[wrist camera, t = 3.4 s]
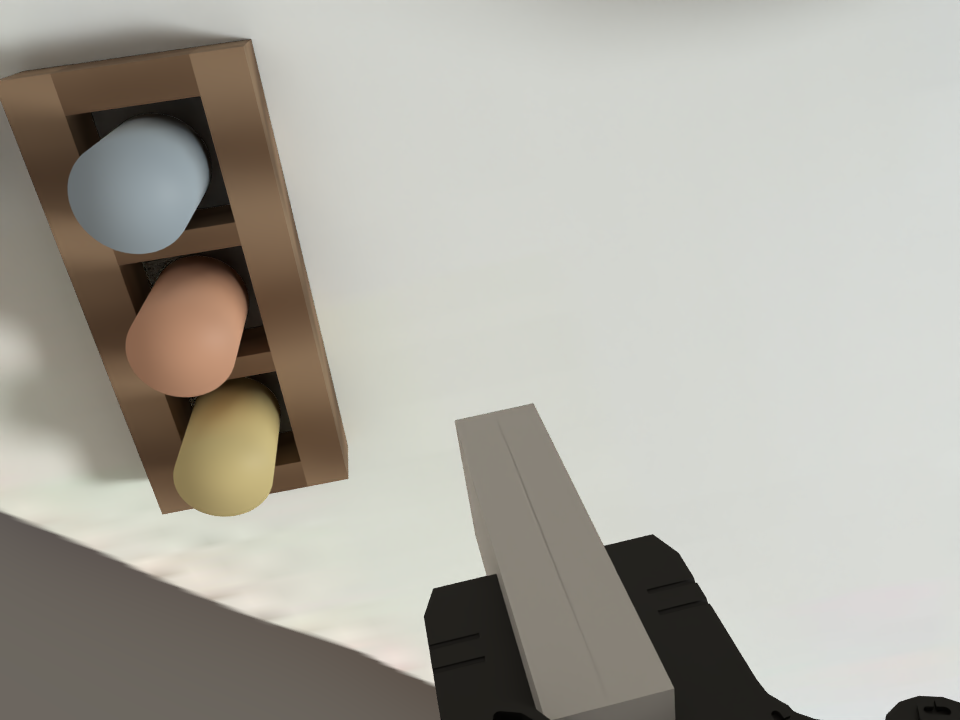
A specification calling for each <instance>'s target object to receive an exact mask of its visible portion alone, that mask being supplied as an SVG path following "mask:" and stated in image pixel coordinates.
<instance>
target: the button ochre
mask: <svg viewBox="0 0 960 720" xmlns="http://www.w3.org/2000/svg"><path fill="white" fill-rule="evenodd" d="M280 419H281V409H280V405H279V402H278V400H277V398H276V396H275V395H274V394H273V392H272V391H271V390H270V389H269V388H268V387H266V386H265V385H263V384H262V383H260V382H258V381H256V380H253V379H250V378H246V377H240V378H235V379H229V380H226V381H225V382H224V383H223V384H222V385H221V386H219V387H218V388H216V389H215V390H213V391H211V392H209V393H206V394H203V395H199V396H198V397H197V399H196V401H195V404H194V407H193V411H192V414H191V417H190V420H189V423H188V426H187V429H186V432H185V436H184V439H183V442H182V445H181V448H180V451H179V454H178V457H177V461H176V464H175V467H174V472H173V479H174V484H175V488H176V490H177V492H178V493H179V495H180V496H181V498H182V499H183V500H184V501H185V502H186V503H187V504H188V505H190V506H191V507H193V508H194V509H196V510H198V511H200V512H203V513H206V514H209V515H214V516H236V515H240V514H243V513H246V512H249V511H251V510H253V509H254V508H256V507H257V506H259V505H260V504H261V503H262V502H263V501H264V500H265V499H266V498H267V496H268V495H269V493H270V491H271V488H272V484H273V477H274V469H275V460H276V452H277V444H278V436H279V428H280Z"/></svg>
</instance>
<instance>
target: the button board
mask: <svg viewBox="0 0 960 720" xmlns="http://www.w3.org/2000/svg"><path fill="white" fill-rule="evenodd" d="M197 96H201V100H202V103H203V107H204V111H205V114H206V118H207V121H208V125H209V129H210V132H211V136H212V140H213V143H214V147H215V151H216V154H217V158H218V162H219V165H220V169H221V172H222V176H223V180H224V183H225V187H226V191H227V194H228V198H229V202H230V204H229V205H223V206H217V207H210V208H204V209H198V210H195V212H194V214H193V216H192V217H191V219H190V221H189V223H188V225H187V226H186V228H185V230H184V232H183V233H182V234H181V235H180V237H179V238H178V239H177V240H176V241H175V242H173V243H172V244H171V245H169V246H167V247H166V248H164V249H161V250H159V251H156V252H152V253H146V254H131V253H124V252H120V251H117V250H114V249H111V248H109V247H107V246H105V245H103V244H101V243H100V242H98V241H97V240H95V239H94V238H93V237H92V236H90V235H89V234H88V233H87V232H86V231H85V230H84V229H83V227H82V226H81V225H80V224H79V222H78V221H77V219H76V217H75V216H74V214H73V211H72V209H71V206H70V203H69V198H68V179H69V175H70V172H71V170H72V168H73V166H74V164H75V162H76V161H77V160H78V158H79V157H80V156H81V155H82V154H83V153H84V152H86V151H87V150H88V149H90V148H91V147H92V146H94V145H95V144H96V143H97V142H99V141H100V138H99V135H98V132H97V129H96V126H95V123H94V121H93V118H92V115H91V112H95V111H102V110H108V109H115V108H122V107H129V106H136V105H143V104H149V103H156V102H163V101H170V100H177V99H183V98H190V97H197ZM0 100H1V103H2V105H3V108H4V111H5V113H6V116H7V118H8V121H9V123H10V126H11V128H12V131H13V134H14V136H15V139H16V141H17V144H18V146H19V149H20V151H21V154H22V157H23V159H24V162H25V164H26V167H27V169H28V172H29V174H30V177H31V180H32V182H33V185H34V187H35V190H36V192H37V195H38V197H39V200H40V203H41V205H42V208H43V210H44V213H45V215H46V218H47V220H48V223H49V226H50V228H51V231H52V233H53V236H54V238H55V241H56V243H57V246H58V249H59V251H60V254H61V256H62V259H63V261H64V264H65V266H66V269H67V272H68V274H69V277H70V279H71V282H72V284H73V287H74V289H75V292H76V295H77V297H78V300H79V302H80V305H81V307H82V310H83V312H84V315H85V318H86V320H87V323H88V325H89V328H90V330H91V333H92V335H93V338H94V341H95V343H96V346H97V348H98V351H99V353H100V356H101V358H102V361H103V364H104V366H105V369H106V371H107V374H108V376H109V379H110V381H111V384H112V387H113V389H114V392H115V394H116V397H117V399H118V402H119V404H120V407H121V410H122V412H123V415H124V417H125V420H126V422H127V425H128V427H129V430H130V433H131V435H132V438H133V440H134V443H135V445H136V448H137V451H138V453H139V456H140V458H141V461H142V463H143V466H144V468H145V471H146V474H147V476H148V479H149V481H150V484H151V486H152V489H153V491H154V494H155V497H156V499H157V502H158V504H159V507H160V509H161V512H162V514H167V513H172V512H178V511H183V510H188V509H193V507H191V506H190V505H188V504H187V503H186V502H185V501H184V500H183V499H182V498H181V496H180V495H179V493H178V492H177V490H176V488H175V484H174V479H173V472H174V467H175V464H176V461H177V457H178V454H179V451H180V448H181V445H182V442H183V439H184V436H185V432H186V429H187V426H188V423H189V420H190V417H191V414H192V408H191V405H190V402H189V399H188V397H176V396H171V395H167V394H164V393H161V392H159V391H157V390H155V389H153V388H151V387H149V386H148V385H147V384H145V383H144V382H143V381H142V380H141V379H140V378H139V377H138V376H137V375H136V374H135V373H134V371H133V369H132V368H131V366H130V364H129V362H128V359H127V355H126V349H125V348H126V337H127V334H128V331H129V329H130V327H131V325H132V323H133V322H134V320H135V318H136V316H137V315H138V313H139V311H140V309H141V307H142V306H143V304H144V302H145V300H146V298H147V297H148V295H149V293H150V291H151V288H150V285H149V282H148V279H147V276H146V273H145V270H144V267H143V264H142V262H143V261H150V260H156V259H162V258H168V257H174V256H180V255H186V254H192V253H198V252H204V251H211V250H217V249H223V248H229V247H235V246H241V245H242V249H243V253H244V256H245V260H246V263H247V267H248V271H249V274H250V278H251V282H252V285H253V289H254V293H255V296H256V300H257V304H258V307H259V311H260V314H261V318H262V322H263V325H264V326H261V327H255V328H249V329H243V333H242V337H241V341H240V345H239V349H238V353H237V357H236V361H235V364H234V368H233V370H232V372H231V374H230V376H229V377H228V378H227V380H229V379H235V378H240V377H246V376H251V375H257V374H263V373H268V372H274V371H276V373H277V376H278V380H279V384H280V387H281V391H282V395H283V398H284V402H285V405H286V409H287V413H288V416H289V420H290V424H291V427H292V431H288V432H283V433H279V436H278V444H277V452H276V460H275V469H274V477H273V484H272V488H271V491H270V493H269V494H271V493H276V492H282V491H287V490H292V489H297V488H302V487H308V486H313V485H318V484H323V483H328V482H334V481H339V480H344V479H348V445H347V441H346V436H345V432H344V428H343V424H342V420H341V415H340V411H339V407H338V403H337V399H336V394H335V390H334V386H333V382H332V378H331V373H330V369H329V365H328V361H327V356H326V352H325V348H324V344H323V340H322V335H321V331H320V327H319V323H318V319H317V314H316V310H315V306H314V302H313V298H312V293H311V289H310V285H309V281H308V277H307V272H306V268H305V264H304V260H303V255H302V251H301V247H300V243H299V239H298V234H297V230H296V226H295V222H294V218H293V213H292V209H291V205H290V201H289V197H288V192H287V188H286V184H285V180H284V175H283V171H282V167H281V163H280V159H279V154H278V150H277V146H276V142H275V138H274V133H273V129H272V125H271V121H270V117H269V112H268V108H267V104H266V100H265V96H264V91H263V87H262V83H261V79H260V74H259V70H258V66H257V62H256V58H255V53H254V49H253V45H252V41H251V39H249V40H242V41H235V42H228V43H220V44H213V45H206V46H199V47H192V48H185V49H178V50H171V51H164V52H157V53H150V54H143V55H135V56H128V57H121V58H114V59H107V60H100V61H93V62H86V63H79V64H72V65H65V66H57V67H50V68H43V69H36V70H29V71H22V72H20V73H17V74H14V75H11V76H8V77H6V78H3V79H0Z"/></svg>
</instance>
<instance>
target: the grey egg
mask: <svg viewBox="0 0 960 720" xmlns="http://www.w3.org/2000/svg"><path fill="white" fill-rule="evenodd" d="M211 177H212V162H211V157H210V154H209V151H208V149H207V147H206V145H205V143H204V141H203V140H202V138H201V137H200V136H199V135H198V133H197V132H196V131H195V130H194V129H193V128H191V127H190V126H189V125H187V124H186V123H185V122H183V121H181V120H179V119H177V118H175V117H172V116H169V115H166V114H160V113H145V114H140V115H137V116H134V117H132V118H130V119H128V120H126V121H125V122H124V123H122V124H121V125H120V126H118V127H117V128H116V129H114V130H113V131H112V132H110V133H109V134H108V135H107V136H105V137H104V138H103V139H101V140H100V141H99V142H97V143H96V144H95V145H94V146H92V147H91V148H90V149H88V150H87V151H86V152H84V153H83V154H82V155H81V156H80V157H79V158H78V160H77V161H76V162H75V164H74V166H73V168H72V170H71V172H70V175H69V179H68V198H69V203H70V206H71V209H72V211H73V214H74V216H75V217H76V219H77V221H78V222H79V224H80V225H81V226H82V227H83V229H84V230H85V231H86V232H87V233H88V234H89V235H90V236H92V237H93V238H94V239H95V240H97V241H98V242H100V243H101V244H103V245H105V246H107V247H109V248H111V249H114V250H117V251H120V252H124V253H131V254H146V253H152V252H156V251H159V250H161V249H164V248H166V247H167V246H169V245H171V244H172V243H173V242H175V241H176V240H177V239H178V238H179V237H180V235H181V234H182V233H183V232H184V230H185V228H186V226H187V225H188V223H189V221H190V219H191V217H192V216H193V214H194V212H195V210H196V208H197V207H198V205H199V203H200V201H201V200H202V198H203V196H204V194H205V192H206V191H207V189H208V187H209V184H210V181H211Z"/></svg>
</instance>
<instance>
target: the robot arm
mask: <svg viewBox="0 0 960 720" xmlns="http://www.w3.org/2000/svg"><path fill="white" fill-rule="evenodd" d="M455 425H456V430H457V436H458V441H459V447H460V452H461V458H462V463H463V469H464V475H465V480H466V486H467V491H468V497H469V502H470V508H471V513H472V519H473V524H474V530H475V535H476V539H477V542H478V546H479V550H480V553H481V557H482V560H483V564H484V568H485V571H486V575H487V576H484V577H480V578H476V579H472V580H467V581H463V582H459V583H455V584H451V585H446V586H442V587H438V588H434V589H433V591H432V594H431V597H430V600H429V603H428V606H427V609H426V612H425V615H424V620H425V626H426V632H427V638H428V645H429V650H430V657H431V663H432V669H433V674H434V681H435V687H436V694H437V700H438V705H439V712H440V718H441V720H818V719H813V718H810V717H807V716H805V715H802V714H799V713H796V712H794V711H793V710H792V709H791V708H790V707H789V706H788V705H786V704H785V703H783V702H781V701H779V700H778V699H776V698H774V697H773V696H771V695H769V694H768V693H767V692H766V691H765V690H764V688H763V687H762V686H761V685H760V683H759V682H758V681H757V679H756V678H755V676H754V674H753V673H752V671H751V670H750V668H749V666H748V665H747V663H746V662H745V660H744V658H743V657H742V655H741V653H740V652H739V650H738V649H737V647H736V645H735V644H734V642H733V640H732V639H731V637H730V636H729V634H728V632H727V631H726V629H725V627H724V626H723V624H722V623H721V621H720V619H719V618H718V616H717V614H716V613H715V611H714V610H713V608H712V606H711V605H710V604H708V602H707V598H706V597H705V595H704V593H703V592H702V590H701V588H700V587H699V585H698V584H697V583H695V580H694V577H693V575H692V574H691V572H690V571H689V569H688V567H687V566H686V564H685V562H684V561H683V559H682V558H681V556H680V554H679V553H678V552H677V551H675V550H674V549H672V548H671V547H670V546H668V545H667V544H665V543H664V542H663V541H661V540H660V539H659V538H657V537H656V536H654V535H653V534H652V535H648V536H644V537H639V538H635V539H631V540H627V541H623V542H618V543H614V544H610V545H606V546H604V545H603V543H602V541H601V539H600V537H599V535H598V533H597V531H596V529H595V527H594V525H593V523H592V521H591V519H590V517H589V515H588V513H587V511H586V509H585V507H584V505H583V503H582V501H581V499H580V497H579V495H578V493H577V491H576V489H575V487H574V485H573V482H572V480H571V478H570V476H569V474H568V472H567V470H566V468H565V466H564V464H563V462H562V460H561V458H560V456H559V454H558V452H557V450H556V448H555V446H554V444H553V442H552V440H551V438H550V436H549V434H548V432H547V430H546V428H545V426H544V424H543V422H542V420H541V418H540V416H539V414H538V412H537V410H536V408H535V406H534V404H528V405H523V406H519V407H514V408H510V409H505V410H500V411H496V412H491V413H487V414H482V415H477V416H473V417H468V418H464V419H459V420H455ZM885 720H960V703H959V702H956V701H953V700H950V699H947V698H944V697H930V696H917V697H914V698H911V699H907V700H904V701H901V702H899V703H898V704H897V705H896V706H895V707H894V708H893V709H892V710H891V711H890V712H889V713H888V714H887V715H886V719H885Z"/></svg>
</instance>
